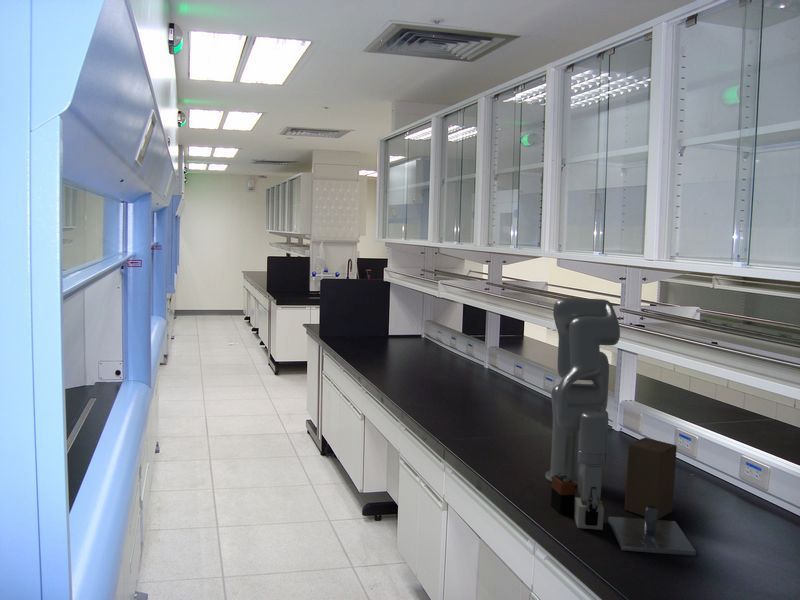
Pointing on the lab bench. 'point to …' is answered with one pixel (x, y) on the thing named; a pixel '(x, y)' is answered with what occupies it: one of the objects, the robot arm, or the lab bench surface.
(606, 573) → the lab bench surface
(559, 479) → the battery
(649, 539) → the plate
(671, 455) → the wooden block
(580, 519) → the gray square frame
